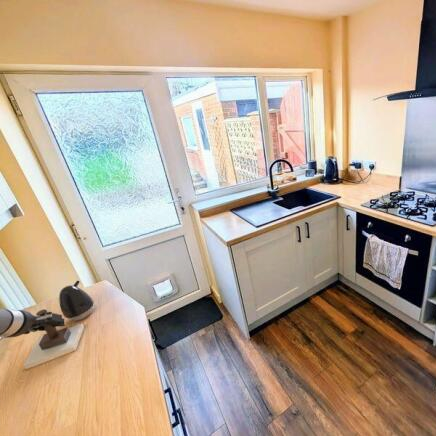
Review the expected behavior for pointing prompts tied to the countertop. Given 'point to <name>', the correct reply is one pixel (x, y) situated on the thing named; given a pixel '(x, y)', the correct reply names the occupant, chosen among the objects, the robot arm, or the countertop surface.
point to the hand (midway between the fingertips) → (57, 324)
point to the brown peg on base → (53, 335)
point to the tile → (54, 348)
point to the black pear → (75, 302)
